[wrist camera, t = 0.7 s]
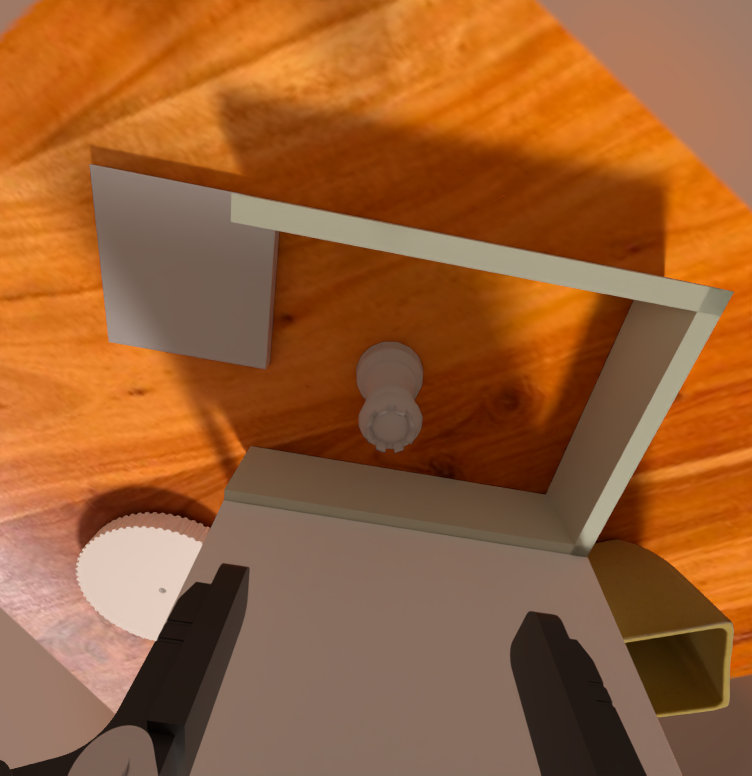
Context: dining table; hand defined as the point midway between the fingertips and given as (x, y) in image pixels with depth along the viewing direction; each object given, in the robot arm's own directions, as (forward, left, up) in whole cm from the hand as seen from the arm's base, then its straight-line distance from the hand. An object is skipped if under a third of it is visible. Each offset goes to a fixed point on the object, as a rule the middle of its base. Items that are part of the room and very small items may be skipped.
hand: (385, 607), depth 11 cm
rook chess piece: (0, -1, -17) cm, 17 cm away
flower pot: (-20, +13, -17) cm, 29 cm away
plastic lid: (+15, +21, -17) cm, 31 cm away
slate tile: (+13, -5, -17) cm, 22 cm away
